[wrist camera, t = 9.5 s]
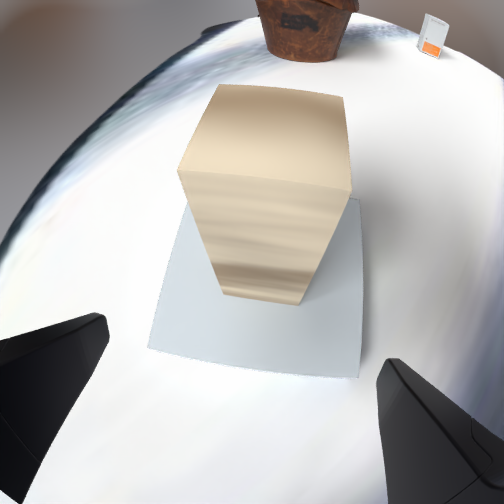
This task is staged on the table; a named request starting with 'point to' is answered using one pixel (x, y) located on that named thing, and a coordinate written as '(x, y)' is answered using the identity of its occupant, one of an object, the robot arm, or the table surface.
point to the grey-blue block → (265, 311)
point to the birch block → (267, 186)
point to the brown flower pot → (305, 27)
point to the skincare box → (432, 36)
